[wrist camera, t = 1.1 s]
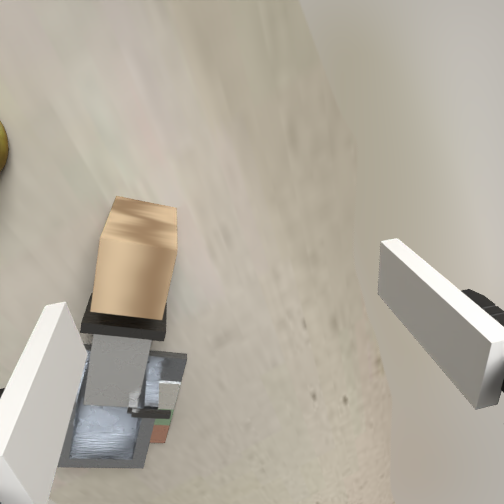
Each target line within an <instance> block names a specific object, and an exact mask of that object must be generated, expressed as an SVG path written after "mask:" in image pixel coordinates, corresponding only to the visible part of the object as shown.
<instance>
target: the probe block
mask: <svg viewBox="0 0 504 504" xmlns="http://www.w3.org/2000/svg"><path fill="white" fill-rule="evenodd" d="M176 255H177V208H174V207H169V206H164V205H159V204H154V203H149V202H144V201H139V200H134V199H129V198H124V197H119V196H116V198H115V201H114V203H113V206H112V209H111V211H110V214H109V216H108V219H107V221H106V224H105V226H104V229H103V232H102V234H101V237H100V242H99V249H98V257H97V265H96V272H95V280H94V287H93V295H92V303H91V310H90V312H97V313H106V314H114V315H123V316H131V317H140V318H148V319H157V320H162V318H163V313H164V309H165V304H166V300H167V295H168V291H169V286H170V282H171V277H172V273H173V269H174V264H175V260H176Z"/></svg>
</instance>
